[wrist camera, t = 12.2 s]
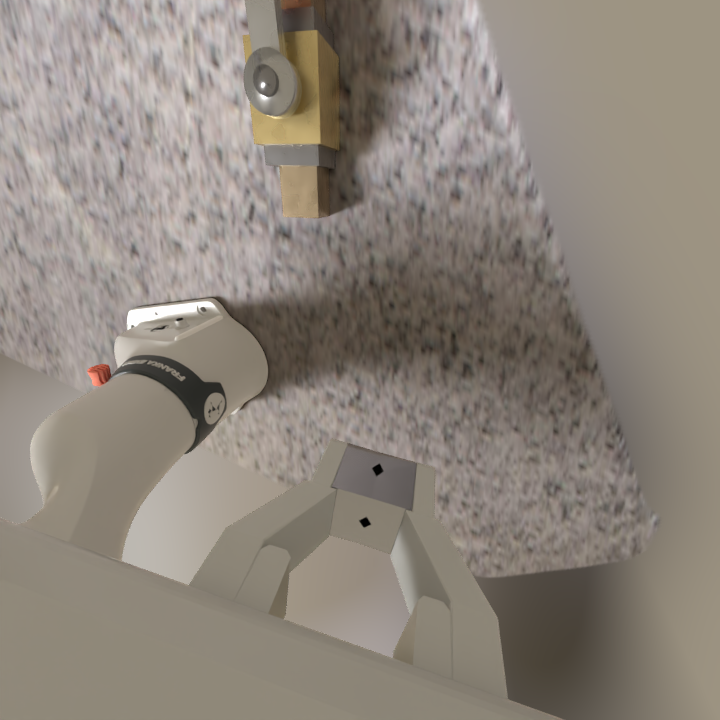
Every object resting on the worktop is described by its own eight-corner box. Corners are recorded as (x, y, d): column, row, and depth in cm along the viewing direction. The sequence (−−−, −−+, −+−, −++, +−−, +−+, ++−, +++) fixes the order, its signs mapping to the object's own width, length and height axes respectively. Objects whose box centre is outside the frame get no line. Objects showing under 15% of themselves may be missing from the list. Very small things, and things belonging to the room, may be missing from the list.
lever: (304, 117, 27) (292, 110, 25) (260, 121, 28) (245, 115, 26) (283, -117, 21) (265, -151, 19) (228, -103, 22) (205, -133, 20)
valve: (340, 216, 36) (320, 221, 30) (287, 213, 37) (259, 218, 32) (338, -40, 27) (310, -101, 21) (269, -32, 28) (225, -88, 23)
